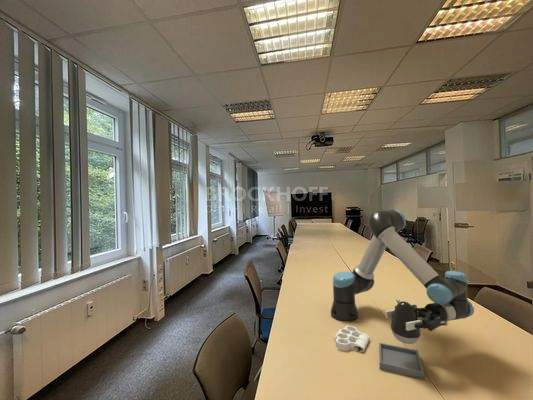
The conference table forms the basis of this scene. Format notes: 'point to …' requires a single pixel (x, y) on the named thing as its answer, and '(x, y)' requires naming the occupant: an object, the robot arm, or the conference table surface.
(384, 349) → the holder tray
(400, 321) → the pump dispenser
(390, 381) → the conference table surface
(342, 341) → the knuckle duster
